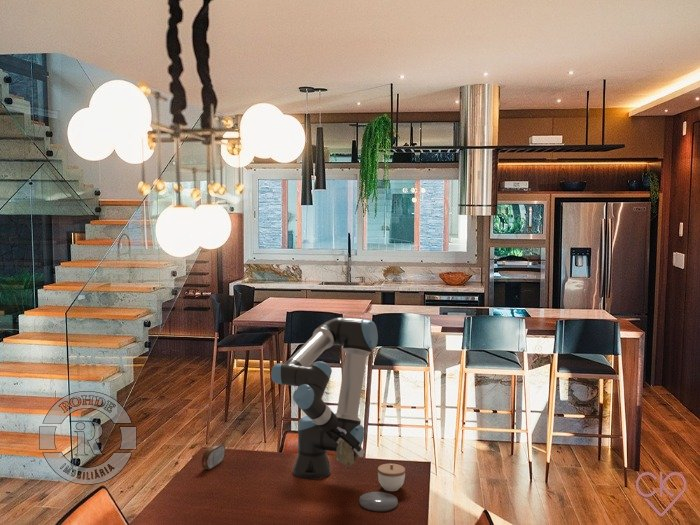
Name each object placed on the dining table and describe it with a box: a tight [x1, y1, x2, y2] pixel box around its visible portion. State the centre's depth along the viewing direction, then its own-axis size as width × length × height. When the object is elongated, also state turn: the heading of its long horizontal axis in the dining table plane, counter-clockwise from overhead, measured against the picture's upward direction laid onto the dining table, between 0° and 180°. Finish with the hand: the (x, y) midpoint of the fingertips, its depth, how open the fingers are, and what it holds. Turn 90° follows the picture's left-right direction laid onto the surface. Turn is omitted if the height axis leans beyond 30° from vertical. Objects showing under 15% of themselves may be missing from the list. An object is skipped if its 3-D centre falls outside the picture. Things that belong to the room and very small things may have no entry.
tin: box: [201, 442, 226, 470], centre depth 272 cm, size 15×3×8 cm, turn 160°
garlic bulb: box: [336, 440, 359, 466], centre depth 246 cm, size 9×8×10 cm
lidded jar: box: [377, 463, 406, 492], centre depth 253 cm, size 11×11×9 cm
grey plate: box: [358, 491, 399, 512], centre depth 240 cm, size 14×14×1 cm
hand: (354, 451), depth 248 cm, fingers closed on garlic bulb, 8 cm apart
